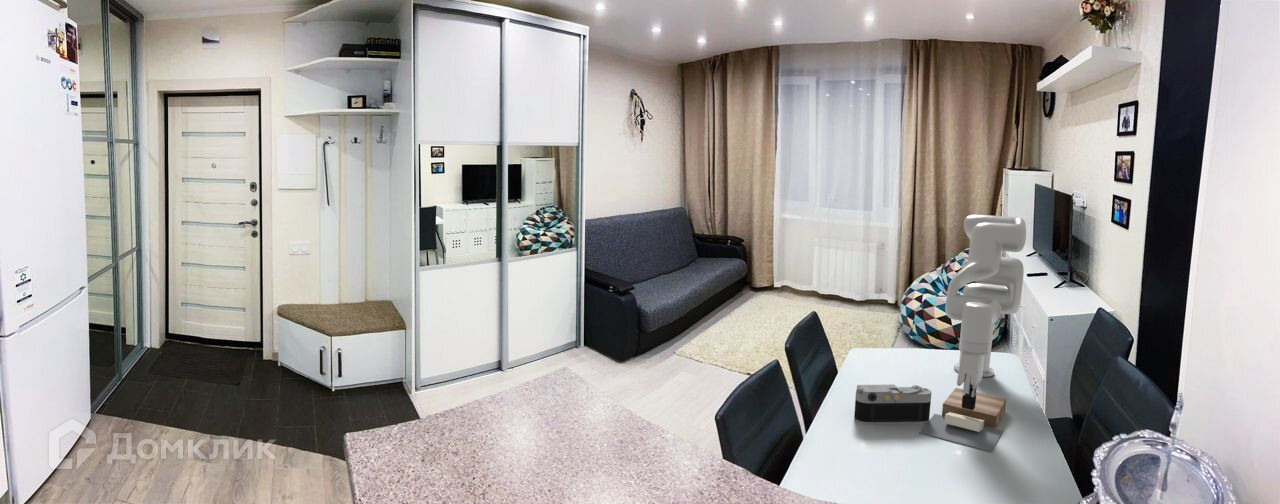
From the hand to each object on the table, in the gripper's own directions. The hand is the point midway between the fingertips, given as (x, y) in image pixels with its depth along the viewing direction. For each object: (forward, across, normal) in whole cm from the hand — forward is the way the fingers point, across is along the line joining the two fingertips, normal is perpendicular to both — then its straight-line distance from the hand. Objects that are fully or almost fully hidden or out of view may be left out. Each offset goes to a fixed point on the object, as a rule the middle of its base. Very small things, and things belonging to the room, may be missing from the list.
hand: (968, 408), depth 186 cm
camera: (+5, +9, -19) cm, 22 cm away
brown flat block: (+5, -10, 0) cm, 11 cm away
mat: (+5, +6, 0) cm, 8 cm away
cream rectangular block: (+2, +4, 0) cm, 4 cm away
